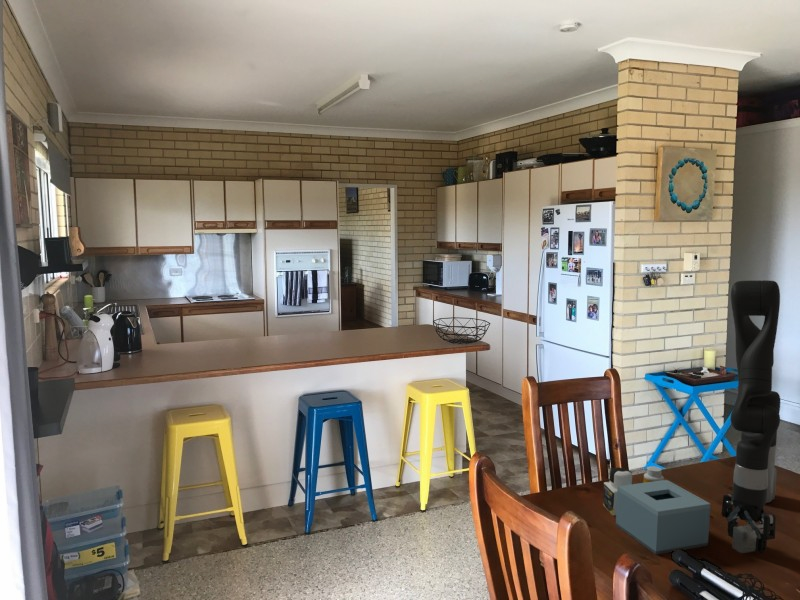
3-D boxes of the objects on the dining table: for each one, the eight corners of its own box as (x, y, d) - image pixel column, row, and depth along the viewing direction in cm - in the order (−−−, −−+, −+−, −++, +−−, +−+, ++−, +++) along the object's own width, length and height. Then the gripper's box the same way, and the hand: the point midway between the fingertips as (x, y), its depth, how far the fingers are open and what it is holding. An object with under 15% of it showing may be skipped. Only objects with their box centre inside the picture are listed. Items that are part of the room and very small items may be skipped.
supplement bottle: (655, 507, 183) (656, 473, 182) (638, 500, 188) (640, 467, 187) (666, 503, 186) (668, 469, 185) (649, 496, 191) (651, 463, 190)
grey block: (749, 544, 162) (750, 524, 161) (758, 550, 159) (760, 529, 158) (732, 547, 160) (733, 527, 160) (741, 553, 157) (743, 532, 157)
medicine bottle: (602, 505, 184) (604, 465, 183) (625, 504, 185) (627, 465, 184) (612, 516, 177) (614, 475, 176) (636, 515, 178) (639, 474, 177)
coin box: (664, 518, 176) (666, 479, 175) (707, 545, 161) (710, 503, 160) (615, 525, 172) (617, 486, 170) (655, 554, 156) (658, 511, 155)
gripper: (786, 492, 152) (781, 555, 154) (739, 470, 166) (735, 529, 167) (762, 495, 150) (757, 560, 152) (716, 473, 163) (712, 532, 165)
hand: (745, 543), depth 159 cm, fingers open, 8 cm apart
